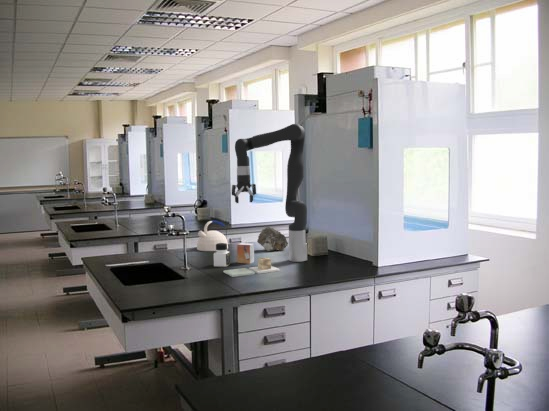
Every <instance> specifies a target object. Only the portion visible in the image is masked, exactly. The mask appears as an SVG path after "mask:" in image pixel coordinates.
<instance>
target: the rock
mask: <svg viewBox="0 0 549 411" xmlns="http://www.w3.org/2000/svg"><path fill="white" fill-rule="evenodd" d="M257 237H258V239H257V243H258V244H259V245H260V246H261V247H263V249H264V250H265V251H267V252H273V251H276V250H278V251H284V250H285V248H287V247H288V246H289V241H287V240H288V239H287V237H286V236H285V234H282V232H281V231H279V230H277V229H275V228H273V227H270V226H266V227H265V228H262V230H261V232H260V233H259V234H258V236H257Z"/></svg>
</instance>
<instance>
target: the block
mask: <svg viewBox="0 0 549 411" xmlns="http://www.w3.org/2000/svg"><path fill="white" fill-rule="evenodd" d="M271 266H272V259H271V258H269V257H267V256H266V257H260V258H257V267H258V268H259V269H262V270H264V269H271Z"/></svg>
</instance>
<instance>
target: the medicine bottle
mask: <svg viewBox="0 0 549 411" xmlns="http://www.w3.org/2000/svg"><path fill="white" fill-rule="evenodd" d="M230 253H231V251H228V249H227V244H226V243H218V244H216V251H214V253H213V267H221V268H222V267H225V268H226V267H228V266H229V265H230V264H231V254H230Z"/></svg>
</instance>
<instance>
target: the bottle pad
mask: <svg viewBox="0 0 549 411" xmlns="http://www.w3.org/2000/svg"><path fill="white" fill-rule="evenodd" d="M223 273H224V274H226V275H228V276H229V277H231V278H234V277H235V278H236V277H242V276H244V277H245V276H252V275H256V272H253V271H251V270H249V268H247V267H244V268H243V267H241V268H235V269H234V268H233V269H225V270H223Z"/></svg>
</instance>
